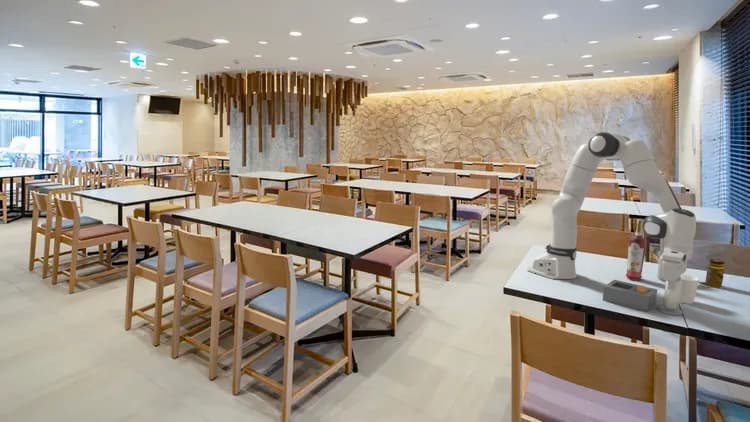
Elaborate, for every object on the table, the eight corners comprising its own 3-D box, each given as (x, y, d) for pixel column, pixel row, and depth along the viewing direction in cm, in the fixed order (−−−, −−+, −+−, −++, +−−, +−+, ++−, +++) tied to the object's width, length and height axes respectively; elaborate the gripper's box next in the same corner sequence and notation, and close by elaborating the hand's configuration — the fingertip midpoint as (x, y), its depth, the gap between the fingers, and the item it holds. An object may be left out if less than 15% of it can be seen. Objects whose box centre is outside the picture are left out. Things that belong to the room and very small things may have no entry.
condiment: (725, 289, 194) (729, 263, 192) (703, 287, 197) (706, 261, 194) (718, 284, 201) (722, 258, 199) (696, 282, 203) (700, 257, 201)
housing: (602, 300, 179) (604, 286, 178) (612, 293, 188) (614, 279, 187) (646, 311, 168) (648, 296, 167) (655, 303, 176) (657, 289, 175)
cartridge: (661, 306, 168) (665, 276, 166) (664, 303, 172) (668, 273, 170) (676, 310, 165) (680, 279, 163) (680, 306, 168) (684, 276, 166)
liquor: (644, 279, 206) (651, 220, 202) (639, 282, 202) (646, 222, 197) (627, 275, 212) (634, 218, 207) (622, 278, 207) (628, 220, 202)
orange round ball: (634, 297, 175) (635, 286, 174) (636, 295, 177) (638, 284, 176) (644, 300, 172) (646, 289, 171) (647, 297, 174) (648, 287, 174)
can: (678, 283, 202) (682, 257, 199) (660, 281, 203) (664, 256, 201) (671, 277, 209) (674, 253, 207) (654, 276, 210) (657, 252, 208)
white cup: (672, 296, 185) (675, 273, 183) (695, 300, 181) (698, 276, 179) (671, 301, 179) (674, 278, 177) (695, 306, 174) (699, 282, 172)
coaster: (655, 311, 169) (655, 309, 169) (660, 305, 174) (660, 304, 174) (679, 317, 163) (679, 315, 163) (684, 311, 169) (685, 310, 168)
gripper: (674, 246, 174) (670, 279, 176) (660, 255, 160) (656, 291, 162) (694, 249, 170) (689, 283, 172) (681, 259, 156) (676, 296, 158)
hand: (672, 287), depth 167 cm, fingers closed on cartridge, 5 cm apart
